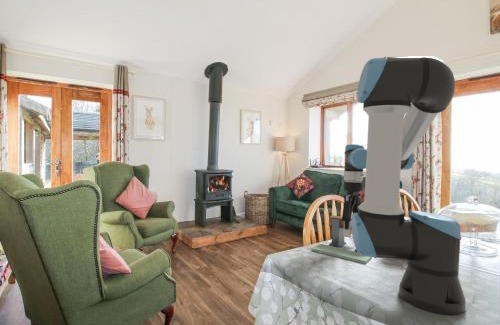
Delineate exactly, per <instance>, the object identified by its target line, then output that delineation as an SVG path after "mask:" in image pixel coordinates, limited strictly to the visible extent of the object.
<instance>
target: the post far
mask: <svg viewBox="0 0 500 325" xmlns="http://www.w3.org/2000/svg"><path fill="white" fill-rule="evenodd" d="M343 235H344V228H340V220H338V219H333V222H332V226H331V242H329V245H328V246H333V247H334V246H335V247H337V248H339V247H340V248H343V247H345V246H346V245H347V242H346V241H345V237H344V236H343ZM345 244H346V245H345ZM342 246H343V247H342Z"/></svg>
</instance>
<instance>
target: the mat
mask: <svg viewBox="0 0 500 325" xmlns="http://www.w3.org/2000/svg"><path fill="white" fill-rule="evenodd" d="M311 251H312V252H316V253H319V254H325V255H327V256H331V257H337V258H340V259H345V260H348V261H353V262H357V263H360V264H365V265H367V263H369V262H370V261H371V260H372V259H373V257H367V256H362V255H360V254H359V253H358V252H356V251H355V250H350V249H346V248H343V247H341V248H339V247H334V246H330V245H327V244H323V243H319V244H317V245H316V246H314V247H312V248H311Z"/></svg>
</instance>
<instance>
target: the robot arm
mask: <svg viewBox="0 0 500 325" xmlns="http://www.w3.org/2000/svg"><path fill="white" fill-rule="evenodd" d="M455 89H456V80H455V77H454V73H453V71H452V69H451V68H450V67H449V65H448V64H447V63H446V62H444V61H443V60H442V59H439V58H438V57H434V56H429V55H428V56H427V55H426V56H425V55H424V56H384V57H375V58H370V59H368V60H367V61H366V63H365V64H364V65H363V69H362V70H361V73H360V76H359V82H358V85H357V93H356V95H357V96H356V99H357V102H358V103H360V104H363V107H362V111H364V112H365V113H366V115H368V124H367V141H366V142H367V145H366V148H365V146H364V144H356V143H355V144H346V145H345V147H344V172H343V181H344V182H343V190H344V191H347V194H346V195H344V196H343V198H344V199H343V208H342V214H341V217H342V221H344V235H343V236H344V238H351V236H352V239H353V245H354V247H355V249H356V250H357V252H358V253H359V254H360V255H362V256H367V257H372V258H374V259H377V258H378V259H386V260H387V259H390V260H399V259H400V261H407V265H406V269H405V272H404V273H403V275H402V278H401V280H400V282H399V289H398V293H399V296H400V297H401V298H402V299H403V300H404V301H406V302H408V303H409V304H411V305H412V306H414V307H417V308H419V309H422V310H425V311H428V312H432V313H436V314H443V315H459V314H462V313H464V312H465V311H466V297H465V294H464V291H463V287H462V285H461V282H460V279H459V269H460V254H461V252H460V250H461V240H462V237H461V236H462V234H461V226H460V225H461V224H459V222H458V221H456V220H455V219H453V218H450V217H446V216H443V215H440V214H435V213H432V212H426V211H421V210H411V211H409V214H408V215H409V216H408V215H407V216H405V210H404V209H403V208H402V206H400V203H399V202H400V186H401V171H405V170H407V171H408V170H411V168H413V165H414V162H415V156H414V150H415V149H416V148H417V146H418V145H419V143H420V141H421V140H422V139H423V137H424V135H425V134H426V132H427V131H428V129H429V128H430V127H431V125H432V123H433V122H434V120H435V119H436V117H437V115H438V114H440V113H443V112H444V111H445V110H447V107H448V106H449V105H450V103H451V102H452V100H453V98H454V94H455V92H456V91H455ZM364 169H365V173H364ZM364 177H365V183H363V182H362V181H364ZM363 187H364V199H363V200H364V201H363V202H361V193H360V192H363ZM346 217H347V218H346ZM351 218H352V219H351ZM350 220H351V221H350ZM351 227H352V230H351Z"/></svg>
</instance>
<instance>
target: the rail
mask: <svg viewBox="0 0 500 325" xmlns="http://www.w3.org/2000/svg"><path fill="white" fill-rule="evenodd" d="M346 218H347V217H346ZM333 219H338V220H340V228H344V221H342V216H340V215H331V216H328V226H329V227H332V222H333ZM351 219H352V217H351ZM350 221H351V220H350ZM351 231H352V227H351Z"/></svg>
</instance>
